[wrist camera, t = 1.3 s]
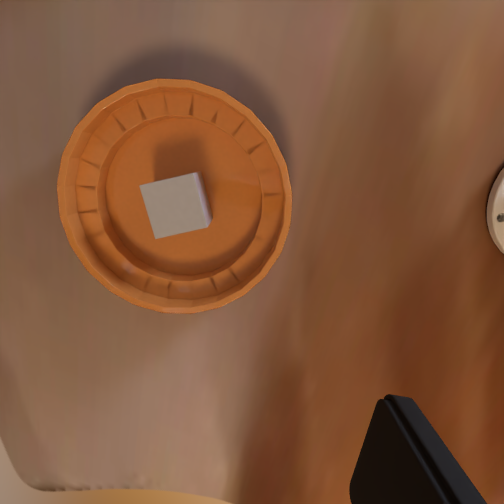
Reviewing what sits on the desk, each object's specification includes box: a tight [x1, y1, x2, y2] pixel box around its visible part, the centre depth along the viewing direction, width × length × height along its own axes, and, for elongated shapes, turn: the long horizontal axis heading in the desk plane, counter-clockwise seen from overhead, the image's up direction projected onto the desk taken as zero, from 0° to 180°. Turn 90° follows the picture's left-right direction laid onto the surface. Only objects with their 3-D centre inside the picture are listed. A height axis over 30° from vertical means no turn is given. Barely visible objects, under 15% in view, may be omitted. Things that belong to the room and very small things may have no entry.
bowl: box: [57, 78, 292, 314], centre depth 31 cm, size 19×19×4 cm
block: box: [139, 171, 213, 239], centre depth 31 cm, size 4×4×4 cm
